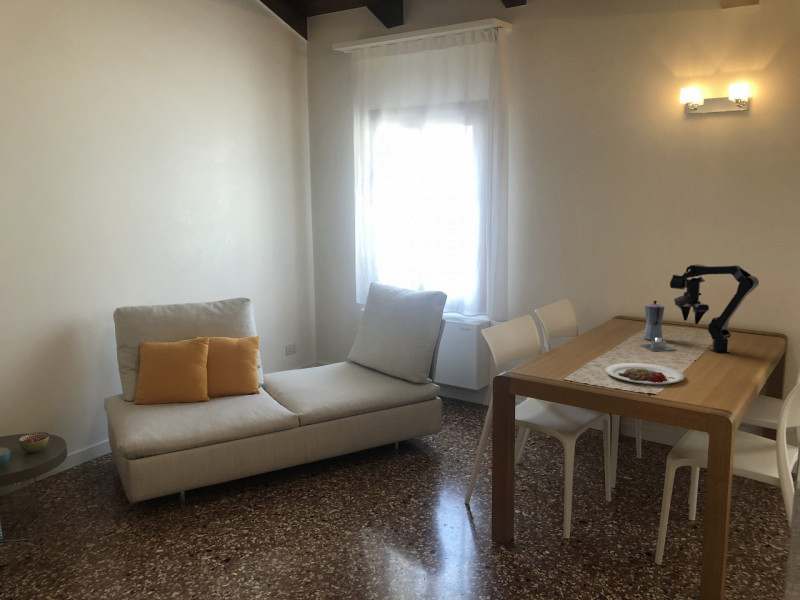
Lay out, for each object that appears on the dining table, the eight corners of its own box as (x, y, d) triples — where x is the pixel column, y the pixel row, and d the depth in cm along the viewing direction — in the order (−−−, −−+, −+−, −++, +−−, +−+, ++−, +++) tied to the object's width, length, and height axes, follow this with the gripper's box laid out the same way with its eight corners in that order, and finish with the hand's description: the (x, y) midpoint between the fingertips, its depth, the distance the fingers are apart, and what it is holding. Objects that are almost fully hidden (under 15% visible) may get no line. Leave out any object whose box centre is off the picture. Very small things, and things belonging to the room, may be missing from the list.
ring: (667, 348, 306) (668, 342, 306) (655, 348, 305) (655, 342, 305) (660, 345, 312) (660, 339, 312) (648, 345, 312) (648, 339, 311)
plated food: (621, 363, 281) (621, 356, 281) (693, 375, 263) (694, 367, 262) (594, 378, 258) (594, 370, 258) (670, 392, 240) (671, 383, 239)
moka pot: (658, 336, 335) (660, 298, 332) (667, 343, 320) (670, 303, 316) (639, 336, 336) (642, 298, 333) (648, 342, 321) (650, 303, 317)
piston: (676, 350, 304) (677, 340, 303) (652, 351, 302) (653, 341, 301) (662, 344, 316) (663, 335, 315) (639, 345, 314) (640, 335, 313)
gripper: (666, 288, 316) (664, 319, 318) (688, 293, 298) (686, 326, 300) (687, 287, 318) (685, 318, 320) (710, 293, 299) (708, 325, 302)
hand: (690, 322), depth 310 cm, fingers open, 9 cm apart
